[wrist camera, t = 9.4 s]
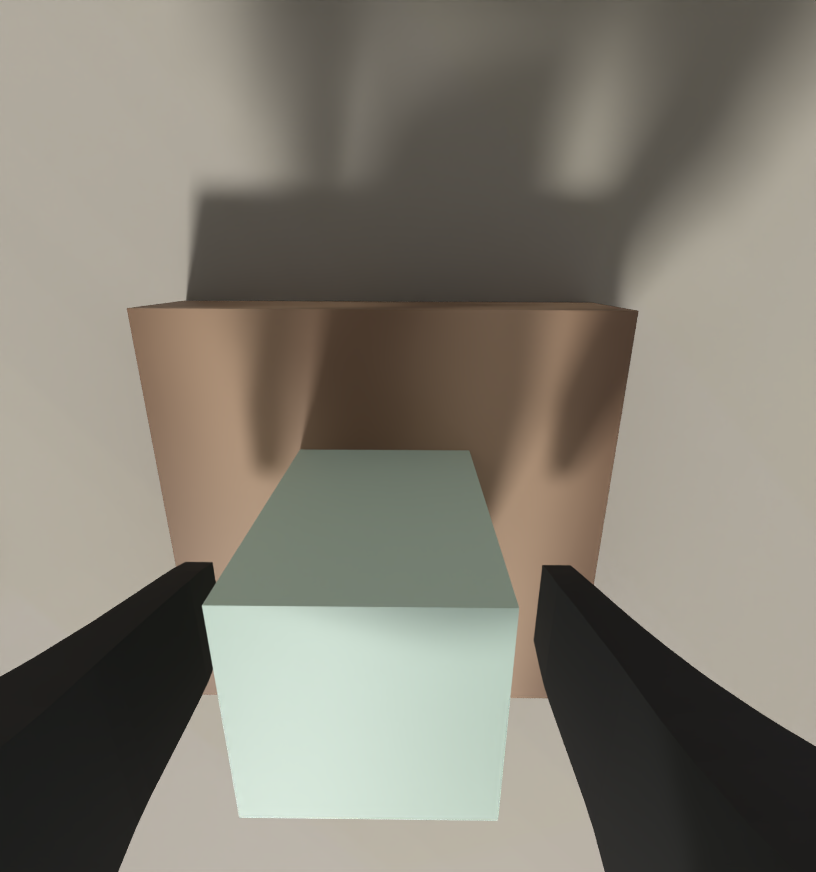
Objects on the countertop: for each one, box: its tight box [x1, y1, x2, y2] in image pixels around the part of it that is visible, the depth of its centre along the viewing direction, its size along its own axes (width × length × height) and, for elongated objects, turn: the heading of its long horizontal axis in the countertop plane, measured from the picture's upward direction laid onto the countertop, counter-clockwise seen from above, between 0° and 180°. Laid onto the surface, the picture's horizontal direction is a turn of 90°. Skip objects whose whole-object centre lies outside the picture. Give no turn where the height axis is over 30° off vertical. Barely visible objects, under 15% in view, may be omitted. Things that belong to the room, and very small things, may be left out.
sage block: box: [202, 449, 519, 821], centre depth 10 cm, size 4×4×6 cm
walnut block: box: [127, 301, 638, 698], centre depth 14 cm, size 12×12×3 cm
